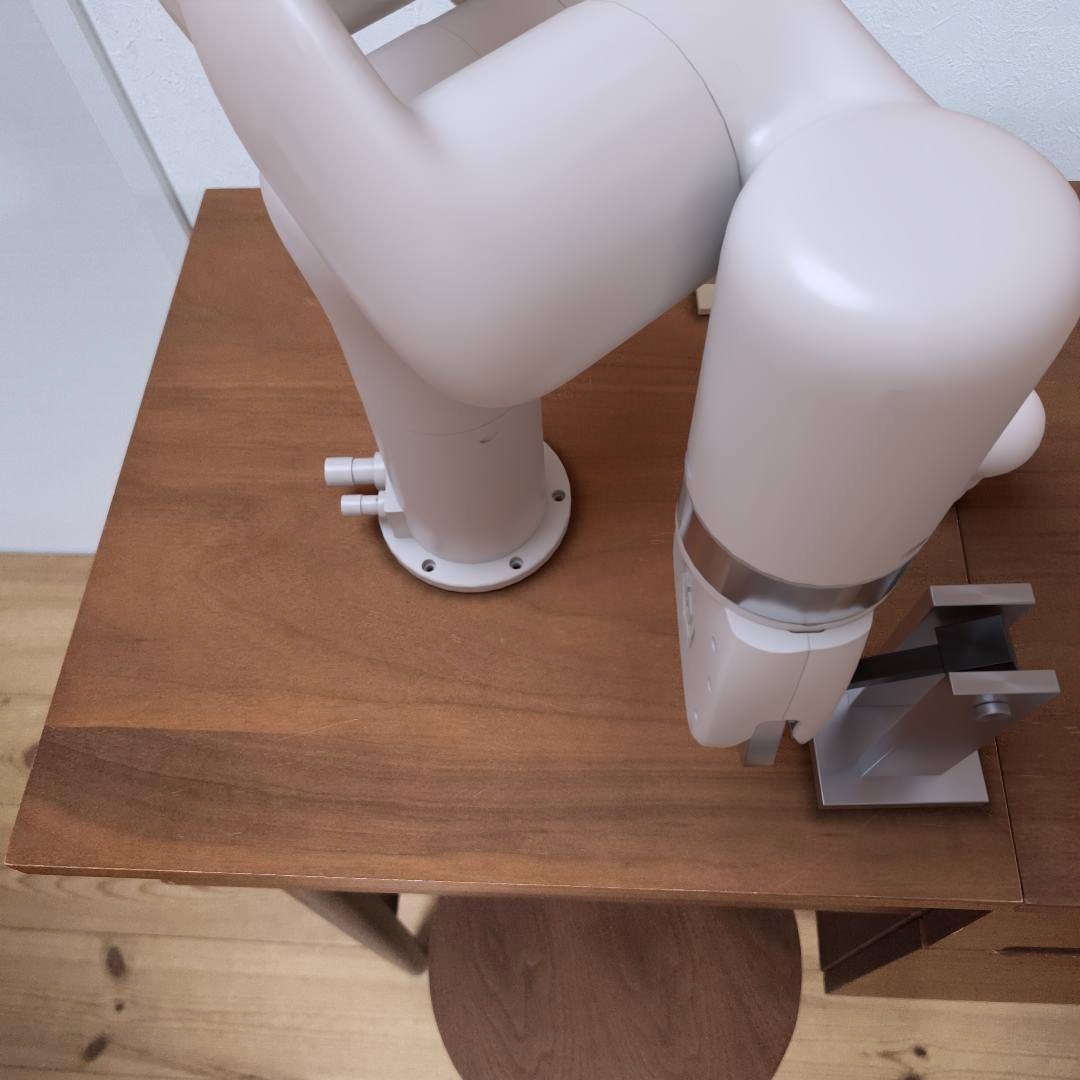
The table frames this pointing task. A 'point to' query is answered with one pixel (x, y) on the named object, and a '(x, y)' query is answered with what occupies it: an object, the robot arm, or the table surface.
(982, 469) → the lightbulb
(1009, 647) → the lever
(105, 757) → the table surface
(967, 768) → the switch bracket
